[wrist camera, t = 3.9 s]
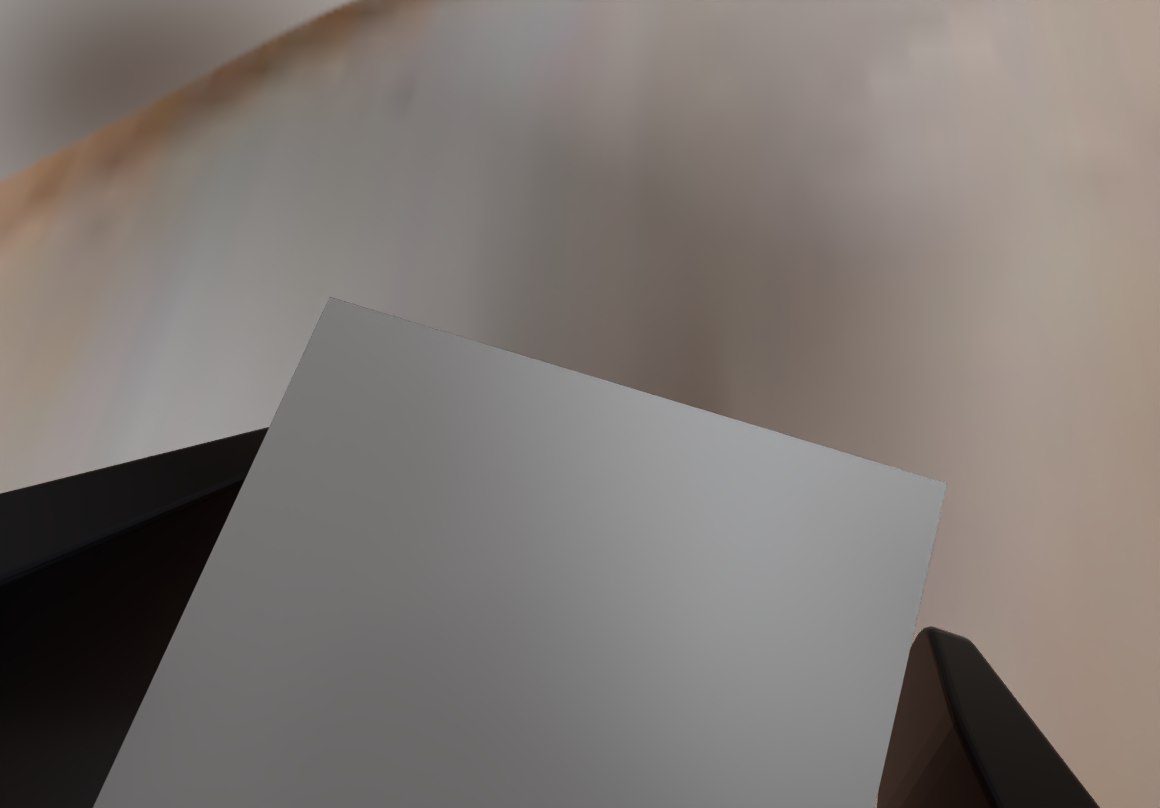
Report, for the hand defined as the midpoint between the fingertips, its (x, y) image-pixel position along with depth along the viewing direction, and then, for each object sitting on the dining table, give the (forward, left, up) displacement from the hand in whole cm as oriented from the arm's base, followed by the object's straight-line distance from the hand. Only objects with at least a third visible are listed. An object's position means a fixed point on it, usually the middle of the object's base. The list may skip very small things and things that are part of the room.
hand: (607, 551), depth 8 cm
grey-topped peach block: (0, +1, -7) cm, 7 cm away
